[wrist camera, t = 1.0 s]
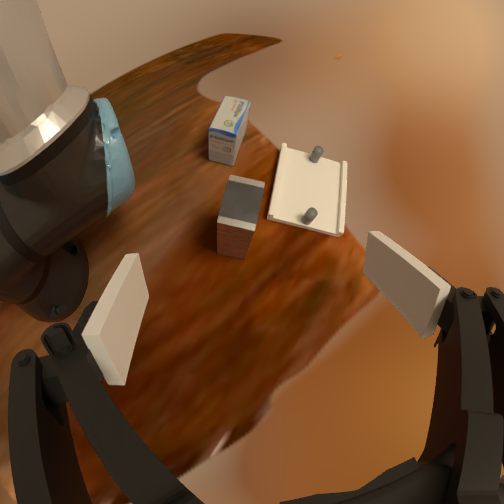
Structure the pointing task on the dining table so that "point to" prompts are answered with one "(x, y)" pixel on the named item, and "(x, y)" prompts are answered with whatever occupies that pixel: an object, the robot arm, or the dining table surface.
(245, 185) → the block
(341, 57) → the dining table surface
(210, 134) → the medicine box
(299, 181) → the tray
